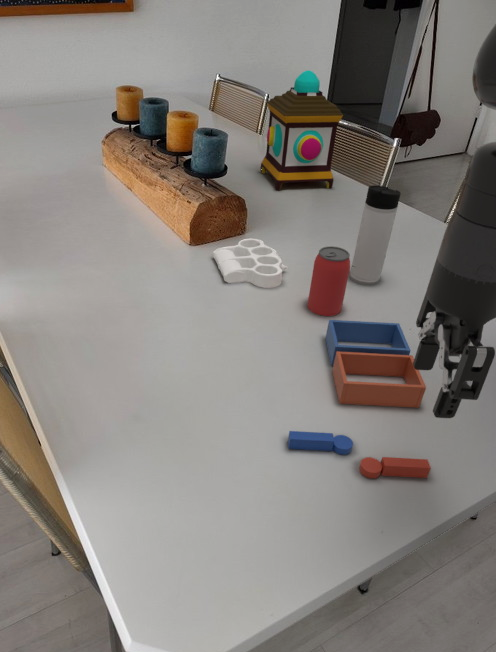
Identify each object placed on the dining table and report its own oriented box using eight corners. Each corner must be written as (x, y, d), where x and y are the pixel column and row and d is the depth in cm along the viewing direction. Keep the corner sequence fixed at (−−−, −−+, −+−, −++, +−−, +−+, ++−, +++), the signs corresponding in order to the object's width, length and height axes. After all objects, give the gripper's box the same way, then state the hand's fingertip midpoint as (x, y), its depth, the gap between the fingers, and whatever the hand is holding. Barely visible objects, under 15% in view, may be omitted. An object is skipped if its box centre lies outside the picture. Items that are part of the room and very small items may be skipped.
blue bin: (393, 344, 97) (399, 323, 94) (403, 372, 91) (410, 350, 88) (324, 340, 97) (328, 319, 94) (330, 368, 91) (335, 346, 88)
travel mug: (342, 279, 116) (361, 185, 104) (360, 270, 120) (380, 179, 107) (366, 291, 112) (389, 195, 100) (384, 281, 116) (408, 188, 104)
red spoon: (421, 468, 74) (426, 455, 72) (427, 484, 71) (432, 471, 70) (356, 464, 74) (360, 452, 72) (360, 480, 71) (363, 468, 70)
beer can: (299, 306, 106) (308, 249, 99) (324, 298, 109) (334, 242, 102) (323, 322, 102) (334, 264, 95) (348, 312, 105) (360, 255, 98)
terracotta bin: (405, 377, 90) (412, 355, 87) (418, 410, 83) (426, 387, 80) (331, 373, 90) (336, 351, 87) (338, 406, 83) (343, 383, 80)
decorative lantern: (338, 192, 159) (358, 77, 141) (273, 194, 155) (285, 77, 137) (313, 170, 175) (329, 64, 156) (254, 172, 171) (263, 63, 152)
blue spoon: (288, 454, 75) (290, 442, 73) (287, 440, 77) (289, 427, 75) (352, 458, 75) (355, 445, 73) (349, 443, 77) (352, 431, 75)
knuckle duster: (209, 254, 123) (271, 250, 126) (227, 293, 109) (296, 288, 112) (210, 240, 121) (272, 236, 124) (228, 278, 107) (298, 273, 110)
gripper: (551, 300, 46) (486, 436, 56) (491, 232, 58) (445, 356, 68) (463, 295, 47) (414, 432, 56) (420, 229, 58) (385, 352, 68)
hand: (431, 390), depth 62 cm, fingers open, 8 cm apart
